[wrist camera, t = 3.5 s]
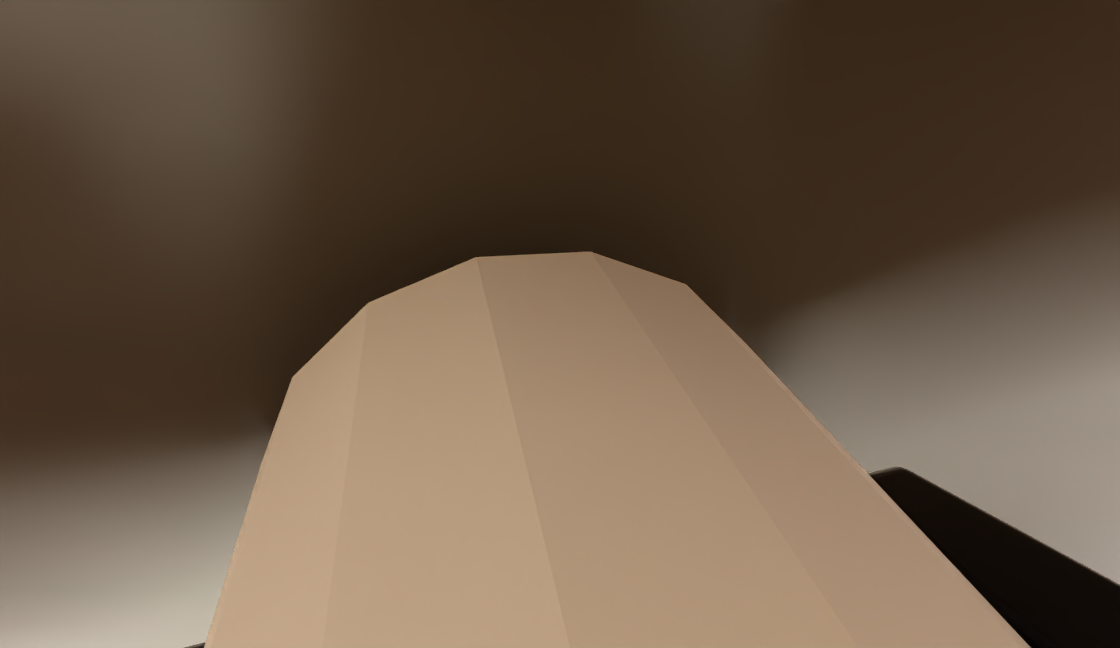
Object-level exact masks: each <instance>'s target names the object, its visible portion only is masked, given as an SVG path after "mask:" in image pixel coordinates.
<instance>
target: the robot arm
mask: <svg viewBox="0 0 1120 648" xmlns="http://www.w3.org/2000/svg"><path fill="white" fill-rule="evenodd" d="M869 475H870V476H871V478H872V479H873V480H874V481H875V482H876V483H877V484H878V485H879V486H880V487H881V488H882V489H883V490H884V491H885V492H886V494H887V495H888V496H889V497H890V498H891V499H892V500H893V501H894V502H895V503H896V504H897V505H898V506H899V507H900V509H901V510H902V511H903V512H904V513H905V514H906V515H907V516H908V517H909V518H910V519H911V520H912V521H913V522H914V523H915V525H916V526H917V527H918V528H919V529H920V530H921V531H922V532H923V533H924V534H925V535H926V536H927V537H928V538H929V539H930V541H931V542H932V543H933V544H934V545H935V546H936V547H937V548H938V549H939V550H940V551H941V552H942V553H943V554H944V555H945V557H946V558H947V559H948V560H949V561H950V562H951V563H952V564H953V565H954V566H955V567H956V568H957V569H958V570H959V571H960V573H961V574H962V575H963V576H964V577H965V578H966V579H967V580H968V581H969V582H970V583H971V584H972V585H973V586H974V588H975V589H976V590H977V591H978V592H979V593H980V594H981V595H982V596H983V597H984V598H985V599H986V600H987V601H988V602H989V604H990V605H991V606H992V607H993V608H994V609H995V610H996V611H997V612H998V613H999V614H1000V615H1001V616H1002V617H1003V618H1004V620H1005V621H1006V622H1007V623H1008V624H1009V625H1010V626H1011V627H1012V628H1013V629H1014V630H1015V631H1016V632H1017V633H1018V634H1019V636H1020V637H1021V638H1022V639H1023V640H1024V641H1025V642H1026V643H1027V644H1028V645H1029V646H1030V647H1031V648H1120V585H1119V584H1118V583H1116V582H1114V581H1112V580H1110V579H1108V578H1107V577H1105V576H1103V575H1101V574H1099V573H1097V572H1095V571H1094V570H1092V569H1090V568H1088V567H1086V566H1084V565H1083V564H1081V563H1079V562H1077V561H1075V560H1073V559H1072V558H1070V557H1068V556H1066V555H1064V554H1062V553H1060V552H1059V551H1057V550H1055V549H1053V548H1051V547H1049V546H1048V545H1046V544H1044V543H1042V542H1040V541H1038V540H1036V539H1035V538H1033V537H1031V536H1029V535H1027V534H1025V533H1024V532H1022V531H1020V530H1018V529H1016V528H1014V527H1013V526H1011V525H1009V524H1007V523H1005V522H1003V521H1001V520H1000V519H998V518H996V517H994V516H992V515H990V514H989V513H987V512H985V511H983V510H981V509H979V508H978V507H976V506H974V505H972V504H970V503H968V502H966V501H965V500H963V499H961V498H959V497H957V496H955V495H954V494H952V493H950V492H948V491H946V490H944V489H942V488H941V487H939V486H937V485H935V484H933V483H931V482H930V481H928V480H926V479H924V478H922V477H920V476H919V475H917V474H915V473H913V472H911V471H909V470H907V469H904V468H901V467H893V468H888V469H884V470H881V471H877V472H873V473H869ZM205 643H206V642H205ZM205 643H201V644H197V645H193V646H189V647H185V648H204V646H205Z"/></svg>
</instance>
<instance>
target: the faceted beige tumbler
mask: <svg viewBox="0 0 1120 648" xmlns="http://www.w3.org/2000/svg"><path fill="white" fill-rule="evenodd" d="M204 648H1031V647H1030V646H1029V645H1028V644H1027V643H1026V642H1025V641H1024V640H1023V639H1022V638H1021V637H1020V636H1019V634H1018V633H1017V632H1016V631H1015V630H1014V629H1013V628H1012V627H1011V626H1010V625H1009V624H1008V623H1007V622H1006V621H1005V620H1004V618H1003V617H1002V616H1001V615H1000V614H999V613H998V612H997V611H996V610H995V609H994V608H993V607H992V606H991V605H990V604H989V602H988V601H987V600H986V599H985V598H984V597H983V596H982V595H981V594H980V593H979V592H978V591H977V590H976V589H975V588H974V586H973V585H972V584H971V583H970V582H969V581H968V580H967V579H966V578H965V577H964V576H963V575H962V574H961V573H960V571H959V570H958V569H957V568H956V567H955V566H954V565H953V564H952V563H951V562H950V561H949V560H948V559H947V558H946V557H945V555H944V554H943V553H942V552H941V551H940V550H939V549H938V548H937V547H936V546H935V545H934V544H933V543H932V542H931V541H930V539H929V538H928V537H927V536H926V535H925V534H924V533H923V532H922V531H921V530H920V529H919V528H918V527H917V526H916V525H915V523H914V522H913V521H912V520H911V519H910V518H909V517H908V516H907V515H906V514H905V513H904V512H903V511H902V510H901V509H900V507H899V506H898V505H897V504H896V503H895V502H894V501H893V500H892V499H891V498H890V497H889V496H888V495H887V494H886V492H885V491H884V490H883V489H882V488H881V487H880V486H879V485H878V484H877V483H876V482H875V481H874V480H873V479H872V478H871V476H870V475H869V474H868V473H867V472H866V471H865V470H864V469H863V468H862V467H861V466H860V465H859V464H858V463H857V462H856V460H855V459H854V458H853V457H852V456H851V455H850V454H849V453H848V452H847V451H846V450H845V449H844V448H843V447H842V446H841V444H840V443H839V442H838V441H837V440H836V439H835V438H834V437H833V436H832V435H831V434H830V433H829V432H828V431H827V430H826V428H825V427H824V426H823V425H822V424H821V423H820V422H819V421H818V420H817V419H816V418H815V417H814V416H813V415H812V414H811V412H810V411H809V410H808V409H807V408H806V407H805V406H804V405H803V404H802V403H801V402H800V401H799V400H798V399H797V397H796V396H795V395H794V394H793V393H792V392H791V391H790V390H789V389H788V388H787V387H786V386H785V385H784V384H783V383H782V381H781V380H780V379H779V378H778V377H777V376H776V375H775V374H774V373H773V372H772V371H771V370H770V369H769V368H768V367H767V365H766V364H765V363H764V362H763V361H762V360H761V359H760V358H759V357H758V356H757V355H756V354H755V353H754V352H753V351H752V349H751V348H750V347H749V346H748V345H747V344H746V343H745V342H744V341H743V340H742V339H741V338H740V337H739V336H738V335H737V334H736V333H735V332H734V331H733V330H732V329H731V328H730V327H729V326H728V325H727V324H726V323H725V322H724V321H723V320H722V319H721V318H720V317H719V316H718V315H717V314H716V313H715V312H714V311H713V310H711V309H710V308H709V307H708V306H707V305H706V304H705V303H704V302H703V301H702V300H701V299H700V298H699V297H698V296H697V295H696V294H695V293H694V292H693V291H692V290H691V289H690V288H689V287H688V286H687V285H686V284H684V283H681V282H678V281H675V280H672V279H669V278H666V277H663V276H660V275H657V274H654V273H652V272H649V271H646V270H643V269H640V268H637V267H634V266H631V265H628V264H625V263H622V262H619V261H617V260H614V259H611V258H608V257H605V256H602V255H599V254H596V253H593V252H571V253H551V254H530V255H510V256H490V257H475V258H473V259H470V260H468V261H466V262H463V263H461V264H459V265H456V266H454V267H451V268H449V269H447V270H444V271H442V272H440V273H437V274H435V275H433V276H430V277H428V278H425V279H423V280H421V281H418V282H416V283H414V284H411V285H409V286H407V287H404V288H402V289H399V290H397V291H395V292H392V293H390V294H388V295H385V296H383V297H381V298H378V299H376V300H373V301H371V302H369V303H367V304H366V305H365V306H364V307H363V308H362V309H361V310H360V311H359V312H358V313H357V314H356V315H355V316H354V317H353V318H352V319H351V320H350V321H349V322H348V323H347V324H346V325H345V326H344V327H343V328H342V329H341V330H340V331H339V332H338V333H337V334H336V335H335V336H334V337H333V338H332V339H331V340H330V341H329V342H328V343H327V344H326V345H325V346H324V347H323V348H322V349H321V350H320V351H318V352H317V353H316V354H315V355H314V356H313V357H312V358H311V359H310V360H309V361H308V362H307V363H306V364H305V365H304V366H303V367H302V368H301V369H300V370H299V371H298V372H297V373H296V374H295V375H294V376H293V377H292V380H291V382H290V385H289V388H288V391H287V393H286V396H285V399H284V402H283V405H282V407H281V410H280V413H279V416H278V418H277V421H276V424H275V427H274V430H273V432H272V435H271V438H270V441H269V443H268V446H267V449H266V452H265V455H264V457H263V460H262V463H261V466H260V469H259V473H258V476H257V479H256V482H255V485H254V489H253V492H252V495H251V498H250V501H249V505H248V508H247V511H246V514H245V518H244V521H243V524H242V527H241V530H240V534H239V537H238V540H237V543H236V546H235V550H234V553H233V556H232V559H231V562H230V566H229V569H228V572H227V575H226V578H225V582H224V585H223V588H222V591H221V595H220V598H219V601H218V604H217V607H216V611H215V614H214V617H213V620H212V623H211V627H210V630H209V633H208V636H207V639H206V643H205V646H204Z"/></svg>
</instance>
